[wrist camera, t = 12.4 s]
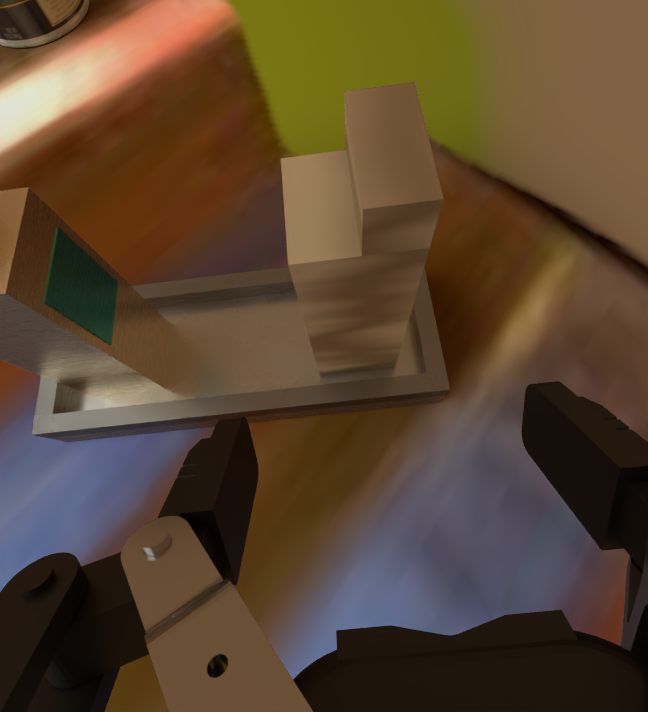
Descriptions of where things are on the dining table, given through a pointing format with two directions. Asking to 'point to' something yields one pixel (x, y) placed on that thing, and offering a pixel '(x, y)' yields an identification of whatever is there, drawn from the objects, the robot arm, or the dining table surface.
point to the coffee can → (38, 21)
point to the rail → (175, 341)
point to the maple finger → (362, 230)
